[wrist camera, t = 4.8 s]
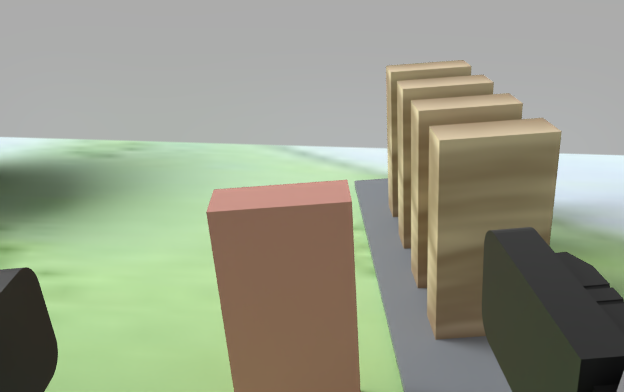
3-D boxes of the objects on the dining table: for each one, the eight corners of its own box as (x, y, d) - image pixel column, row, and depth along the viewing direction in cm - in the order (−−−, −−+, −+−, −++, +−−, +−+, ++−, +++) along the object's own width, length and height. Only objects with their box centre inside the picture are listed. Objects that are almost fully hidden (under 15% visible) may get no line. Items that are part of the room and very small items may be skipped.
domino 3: (484, 242, 36) (493, 82, 32) (403, 248, 36) (402, 89, 32) (475, 228, 38) (482, 74, 34) (398, 233, 38) (397, 80, 34)
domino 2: (465, 211, 40) (471, 66, 36) (392, 217, 40) (390, 72, 36) (458, 200, 42) (462, 60, 38) (388, 205, 42) (386, 65, 38)
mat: (708, 513, 20) (710, 504, 19) (437, 531, 20) (437, 523, 19) (467, 177, 47) (467, 172, 47) (354, 185, 47) (354, 180, 47)
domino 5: (540, 332, 28) (561, 131, 24) (435, 339, 28) (439, 140, 24) (525, 308, 30) (542, 117, 26) (426, 315, 30) (429, 126, 26)
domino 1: (361, 423, 24) (351, 201, 20) (240, 431, 24) (206, 212, 20) (357, 389, 26) (347, 179, 22) (244, 397, 26) (213, 189, 22)
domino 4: (508, 281, 32) (522, 103, 28) (417, 288, 32) (418, 110, 28) (497, 263, 34) (508, 93, 30) (411, 269, 34) (411, 100, 30)
